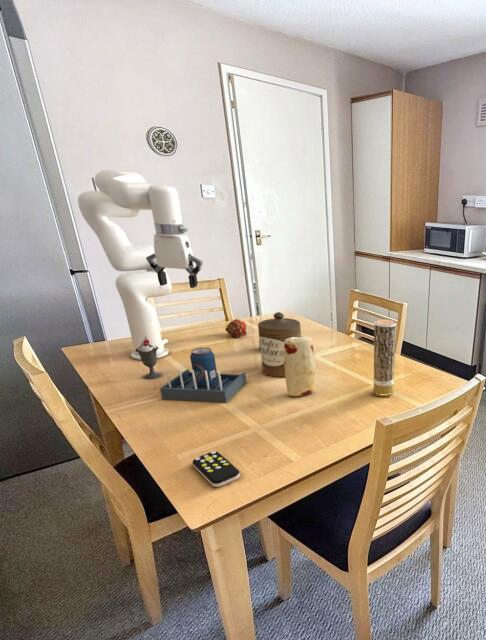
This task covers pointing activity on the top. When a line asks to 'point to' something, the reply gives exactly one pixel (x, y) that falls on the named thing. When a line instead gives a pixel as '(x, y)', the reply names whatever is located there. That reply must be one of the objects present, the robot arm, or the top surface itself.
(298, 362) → the food model
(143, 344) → the sundae
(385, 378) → the wooden log
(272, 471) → the top surface
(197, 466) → the remote control
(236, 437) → the top surface
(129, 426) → the top surface
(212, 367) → the soda can
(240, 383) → the dish rack
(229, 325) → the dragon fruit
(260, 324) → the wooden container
